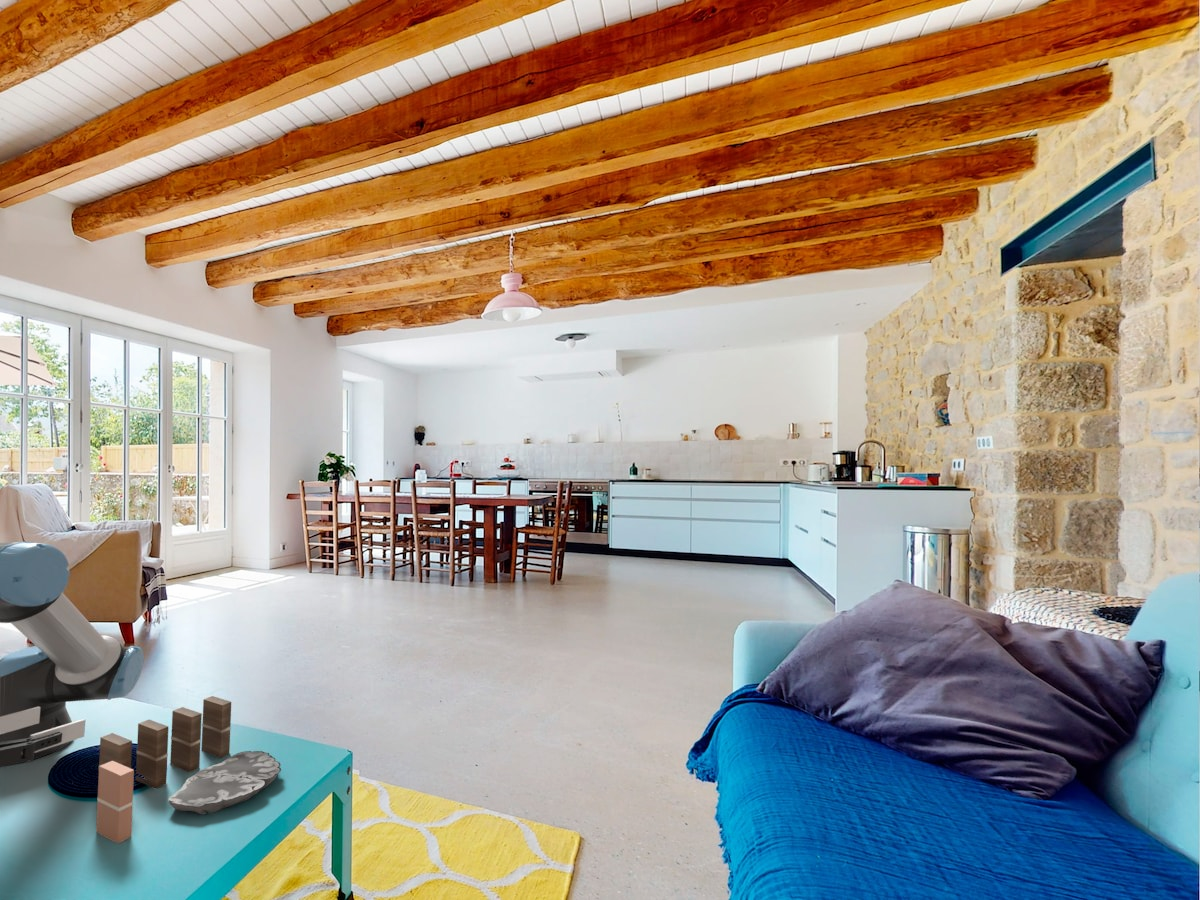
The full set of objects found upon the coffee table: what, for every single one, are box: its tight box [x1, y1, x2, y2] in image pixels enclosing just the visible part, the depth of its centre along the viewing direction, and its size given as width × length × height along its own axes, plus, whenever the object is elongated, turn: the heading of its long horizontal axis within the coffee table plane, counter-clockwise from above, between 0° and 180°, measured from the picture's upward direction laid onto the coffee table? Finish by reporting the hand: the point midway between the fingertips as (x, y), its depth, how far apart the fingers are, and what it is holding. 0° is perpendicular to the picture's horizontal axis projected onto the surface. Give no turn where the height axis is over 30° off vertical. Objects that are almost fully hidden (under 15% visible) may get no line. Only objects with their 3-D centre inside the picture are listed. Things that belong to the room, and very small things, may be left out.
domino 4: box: [169, 706, 203, 773], centre depth 120 cm, size 2×7×12 cm, turn 67°
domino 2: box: [95, 761, 135, 844], centre depth 99 cm, size 2×7×12 cm, turn 67°
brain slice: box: [168, 750, 282, 815], centre depth 112 cm, size 20×17×3 cm
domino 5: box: [200, 695, 232, 759], centre depth 126 cm, size 2×7×12 cm, turn 67°
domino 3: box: [135, 719, 169, 790], centre depth 114 cm, size 2×7×12 cm, turn 67°
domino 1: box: [97, 732, 133, 782], centre depth 108 cm, size 2×7×12 cm, turn 67°
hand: (60, 721), depth 92 cm, fingers open, 13 cm apart
